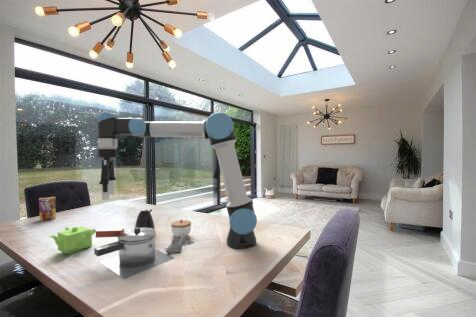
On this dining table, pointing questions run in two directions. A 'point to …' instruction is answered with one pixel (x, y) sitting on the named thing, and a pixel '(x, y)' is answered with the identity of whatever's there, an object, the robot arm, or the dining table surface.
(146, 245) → the pot
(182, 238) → the goldfish
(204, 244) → the dining table surface
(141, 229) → the lid
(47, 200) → the candy box
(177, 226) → the lidded jar
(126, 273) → the trivet
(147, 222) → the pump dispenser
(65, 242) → the kettle
